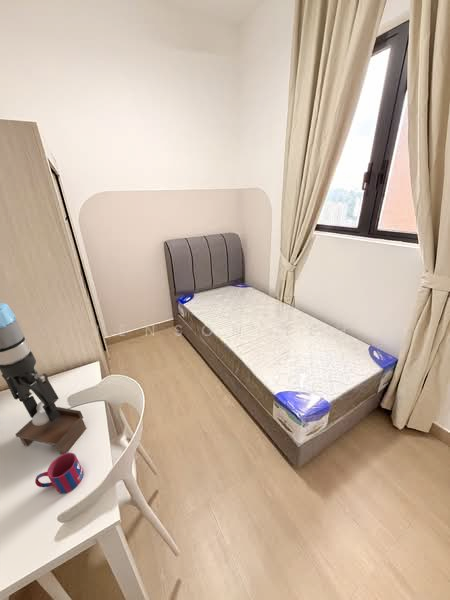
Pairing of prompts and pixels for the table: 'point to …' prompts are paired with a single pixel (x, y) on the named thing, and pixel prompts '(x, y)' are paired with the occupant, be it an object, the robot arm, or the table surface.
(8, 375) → the robot arm
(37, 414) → the smooth white sculpture
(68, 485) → the mug
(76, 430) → the shelf
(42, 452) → the table surface
